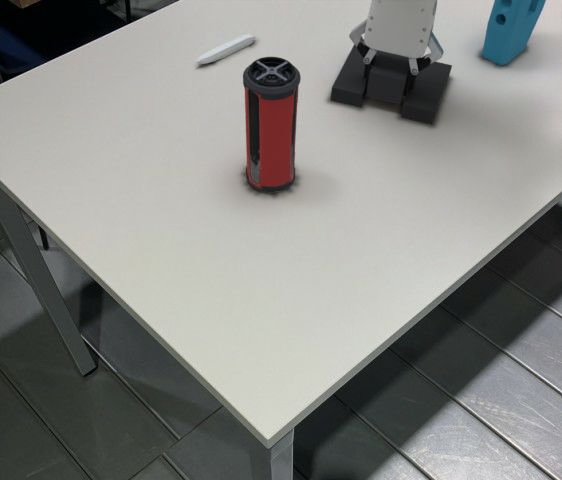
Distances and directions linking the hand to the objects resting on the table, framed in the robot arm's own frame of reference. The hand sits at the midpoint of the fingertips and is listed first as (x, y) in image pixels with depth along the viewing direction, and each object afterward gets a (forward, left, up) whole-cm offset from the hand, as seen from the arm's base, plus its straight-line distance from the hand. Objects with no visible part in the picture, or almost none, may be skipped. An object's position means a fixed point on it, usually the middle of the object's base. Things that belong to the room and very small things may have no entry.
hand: (388, 86), depth 106 cm
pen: (+31, -2, -3) cm, 31 cm away
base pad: (0, -3, -3) cm, 4 cm away
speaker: (+12, +26, -3) cm, 28 cm away
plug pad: (0, 0, -1) cm, 1 cm away
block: (-17, -22, -3) cm, 28 cm away
